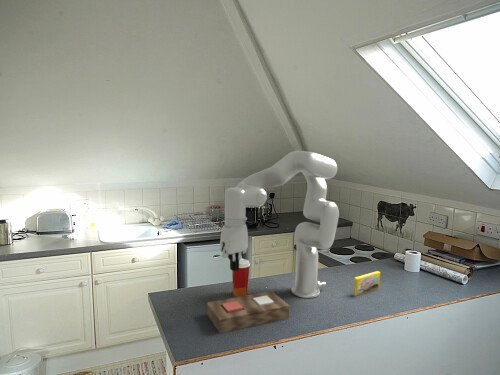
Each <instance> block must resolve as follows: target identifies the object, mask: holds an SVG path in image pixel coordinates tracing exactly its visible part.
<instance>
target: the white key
mask: <svg viewBox="0 0 500 375" xmlns="http://www.w3.org/2000/svg"><path fill="white" fill-rule="evenodd" d="M253 301H254V302H255V303H256V304H257V305H258V306H259V307H260V306H265V305H270V304H274V302H273V301H272V300H271V299H270V298H269V297H268V296H261V297H256V298H253Z"/></svg>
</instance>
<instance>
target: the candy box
mask: <svg viewBox="0 0 500 375" xmlns="http://www.w3.org/2000/svg"><path fill="white" fill-rule="evenodd" d="M381 274H382V273H381V272H380V271H379V270H376V271H373V272H369V273H366V274H362V275H360V276H359V275H358V276H355V277H354V278H353V279H354V280H353V287H352V289H353V290H352V296H354V297H358V296H360V295H363V294H367V293H370V292H372V291H376V290H378V289H380V280H381Z"/></svg>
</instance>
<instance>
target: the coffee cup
mask: <svg viewBox="0 0 500 375" xmlns="http://www.w3.org/2000/svg"><path fill="white" fill-rule="evenodd" d="M250 266H251V262H250V260H249V259H246V258H241V259H240V260H239V271H236V272H235V271H233V270H231V272H232V275H231V276H232V294H233V296H234V297H235V298H236V297H241V296H247V295H248V287H249V274H250Z"/></svg>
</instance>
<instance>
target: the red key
mask: <svg viewBox="0 0 500 375" xmlns="http://www.w3.org/2000/svg"><path fill="white" fill-rule="evenodd" d="M222 308H223V309H224V310H225V311H226V312H227V313H230V312H235V311H240V310H243V307H242V306H241V305H240V304H239V303H238V302H237V301H233V302H228V303H223V304H222Z"/></svg>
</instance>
